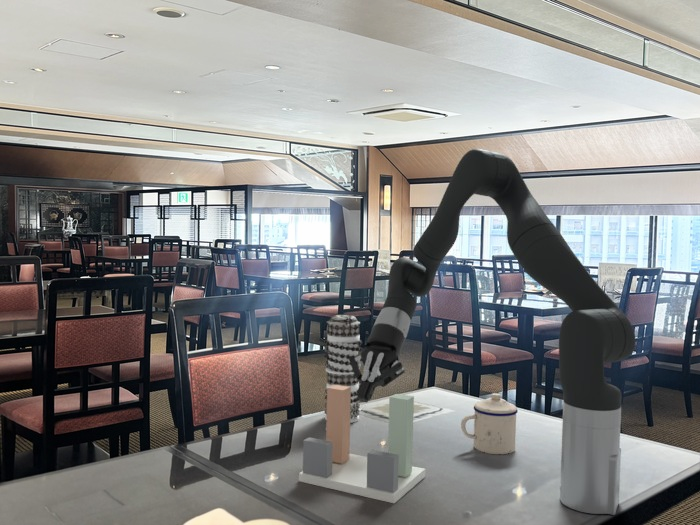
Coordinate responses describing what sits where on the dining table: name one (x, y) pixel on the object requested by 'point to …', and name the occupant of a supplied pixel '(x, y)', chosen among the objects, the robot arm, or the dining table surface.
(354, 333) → the decorative candle
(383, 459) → the twin block stand
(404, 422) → the sage tab
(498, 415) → the teacup with lid
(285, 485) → the dining table surface
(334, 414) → the terracotta tab
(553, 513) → the dining table surface
